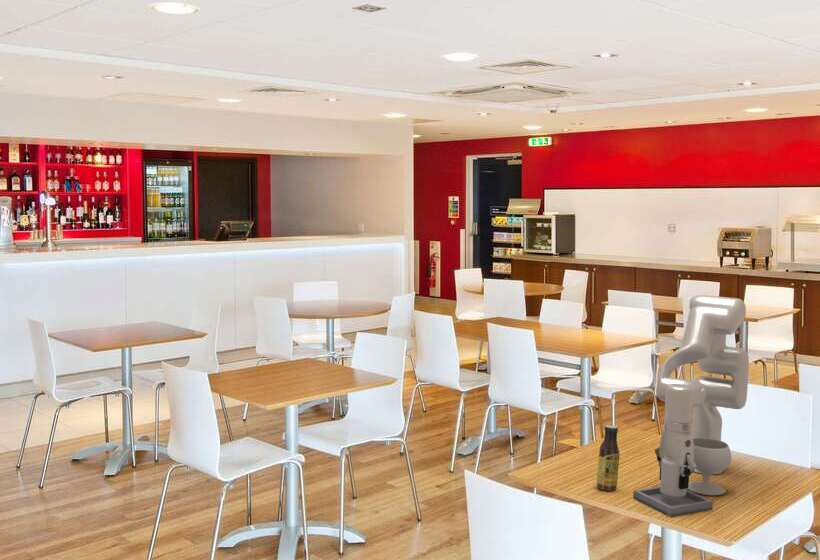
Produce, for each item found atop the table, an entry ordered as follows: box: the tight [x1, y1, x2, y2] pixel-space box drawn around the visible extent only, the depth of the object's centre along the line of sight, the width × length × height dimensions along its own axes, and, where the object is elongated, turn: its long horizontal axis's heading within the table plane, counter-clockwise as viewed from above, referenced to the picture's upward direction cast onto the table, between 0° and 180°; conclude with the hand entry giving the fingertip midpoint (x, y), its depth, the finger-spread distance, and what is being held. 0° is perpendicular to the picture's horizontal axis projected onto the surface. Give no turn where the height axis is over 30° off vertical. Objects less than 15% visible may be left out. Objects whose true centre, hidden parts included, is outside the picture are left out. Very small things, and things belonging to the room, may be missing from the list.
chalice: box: [686, 438, 732, 496], centre depth 270 cm, size 14×14×15 cm
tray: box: [632, 485, 714, 518], centre depth 257 cm, size 16×16×2 cm
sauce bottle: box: [596, 424, 621, 492], centre depth 268 cm, size 6×6×20 cm
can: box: [659, 455, 687, 498], centre depth 256 cm, size 8×8×12 cm
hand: (673, 483), depth 256 cm, fingers closed on can, 7 cm apart
